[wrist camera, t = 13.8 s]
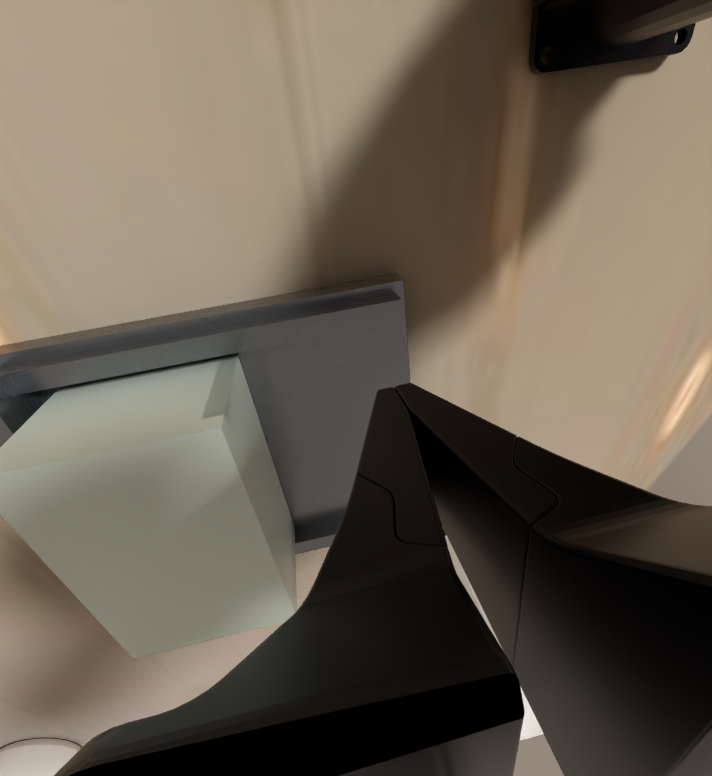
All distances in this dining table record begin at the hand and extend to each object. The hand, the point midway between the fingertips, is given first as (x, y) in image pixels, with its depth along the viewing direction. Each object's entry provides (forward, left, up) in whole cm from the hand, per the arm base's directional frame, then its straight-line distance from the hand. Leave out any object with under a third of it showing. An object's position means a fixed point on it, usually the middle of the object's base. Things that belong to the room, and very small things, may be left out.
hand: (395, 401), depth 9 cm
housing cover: (+9, +8, -9) cm, 15 cm away
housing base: (+6, +8, -10) cm, 14 cm away
